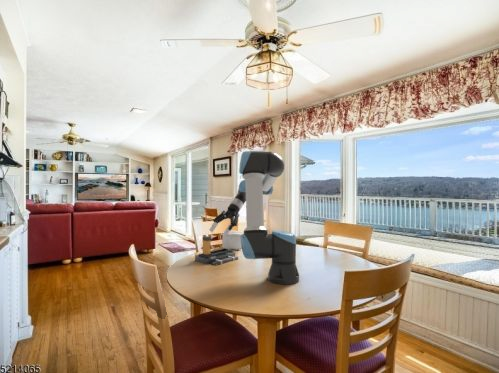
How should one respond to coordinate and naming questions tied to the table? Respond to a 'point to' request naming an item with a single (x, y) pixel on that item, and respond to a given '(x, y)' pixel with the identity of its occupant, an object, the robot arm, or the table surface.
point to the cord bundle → (224, 260)
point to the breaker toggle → (206, 245)
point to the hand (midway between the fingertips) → (217, 232)
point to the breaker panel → (214, 256)
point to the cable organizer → (232, 240)
